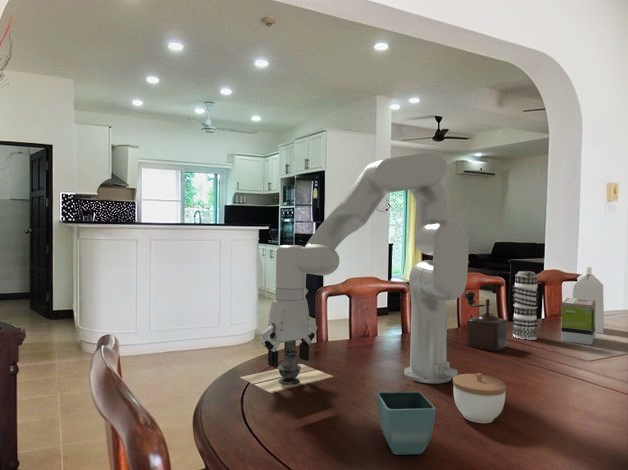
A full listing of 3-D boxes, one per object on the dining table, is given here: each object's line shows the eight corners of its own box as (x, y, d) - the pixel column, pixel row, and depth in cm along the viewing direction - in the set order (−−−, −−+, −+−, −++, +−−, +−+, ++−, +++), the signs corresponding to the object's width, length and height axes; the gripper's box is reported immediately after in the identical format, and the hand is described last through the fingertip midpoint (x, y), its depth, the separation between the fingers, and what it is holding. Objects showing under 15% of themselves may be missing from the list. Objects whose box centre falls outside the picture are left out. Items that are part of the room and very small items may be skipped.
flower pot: (374, 438, 88) (375, 391, 87) (419, 437, 88) (420, 390, 88) (385, 461, 79) (386, 409, 79) (435, 460, 80) (436, 408, 79)
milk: (603, 333, 185) (605, 269, 184) (570, 329, 191) (572, 267, 191) (603, 328, 195) (605, 267, 194) (572, 324, 201) (574, 265, 201)
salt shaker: (297, 386, 111) (298, 337, 111) (274, 384, 113) (275, 335, 112) (303, 378, 117) (304, 331, 117) (281, 376, 118) (282, 330, 118)
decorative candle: (508, 333, 180) (510, 270, 180) (533, 335, 179) (535, 271, 179) (515, 339, 171) (517, 272, 171) (541, 340, 170) (543, 273, 169)
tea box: (566, 334, 183) (567, 296, 182) (595, 338, 177) (596, 299, 176) (560, 341, 170) (561, 301, 170) (591, 345, 164) (593, 304, 164)
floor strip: (315, 373, 125) (315, 369, 125) (253, 389, 112) (253, 383, 112) (300, 367, 130) (300, 363, 130) (239, 382, 117) (239, 377, 117)
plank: (333, 380, 120) (333, 376, 120) (270, 397, 107) (270, 392, 107) (316, 373, 125) (316, 369, 125) (254, 388, 112) (254, 384, 112)
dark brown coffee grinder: (508, 346, 161) (509, 295, 160) (496, 352, 152) (497, 298, 152) (465, 338, 171) (467, 290, 171) (452, 343, 163) (453, 292, 163)
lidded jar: (477, 431, 91) (478, 384, 91) (441, 411, 101) (442, 369, 101) (516, 423, 96) (517, 378, 96) (479, 404, 105) (480, 364, 105)
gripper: (307, 290, 123) (306, 354, 123) (252, 295, 112) (251, 365, 112) (326, 293, 117) (324, 360, 117) (270, 299, 106) (269, 373, 106)
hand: (288, 362), depth 115 cm, fingers open, 9 cm apart
